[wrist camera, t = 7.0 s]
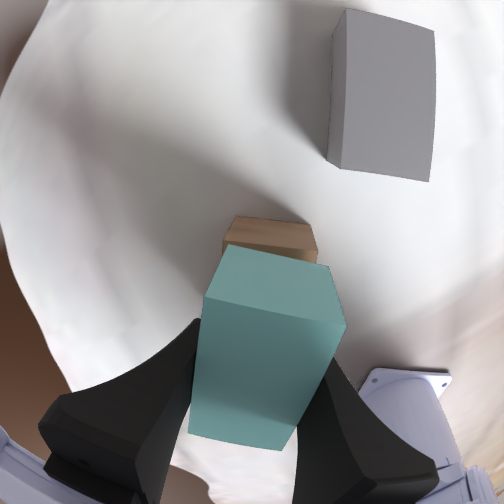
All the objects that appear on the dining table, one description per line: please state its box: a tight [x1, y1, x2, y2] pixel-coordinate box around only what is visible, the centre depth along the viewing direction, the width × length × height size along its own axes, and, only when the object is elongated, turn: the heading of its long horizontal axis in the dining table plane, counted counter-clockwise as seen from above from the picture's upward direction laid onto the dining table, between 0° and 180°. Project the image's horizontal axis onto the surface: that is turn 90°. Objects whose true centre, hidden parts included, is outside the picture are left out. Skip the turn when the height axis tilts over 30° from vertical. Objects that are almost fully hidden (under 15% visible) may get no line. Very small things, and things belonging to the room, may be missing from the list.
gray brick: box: [326, 8, 436, 182], centre depth 12 cm, size 7×4×4 cm, turn 177°
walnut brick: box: [222, 216, 318, 264], centre depth 16 cm, size 7×4×4 cm, turn 175°
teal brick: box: [188, 244, 347, 451], centre depth 11 cm, size 7×4×4 cm, turn 168°
